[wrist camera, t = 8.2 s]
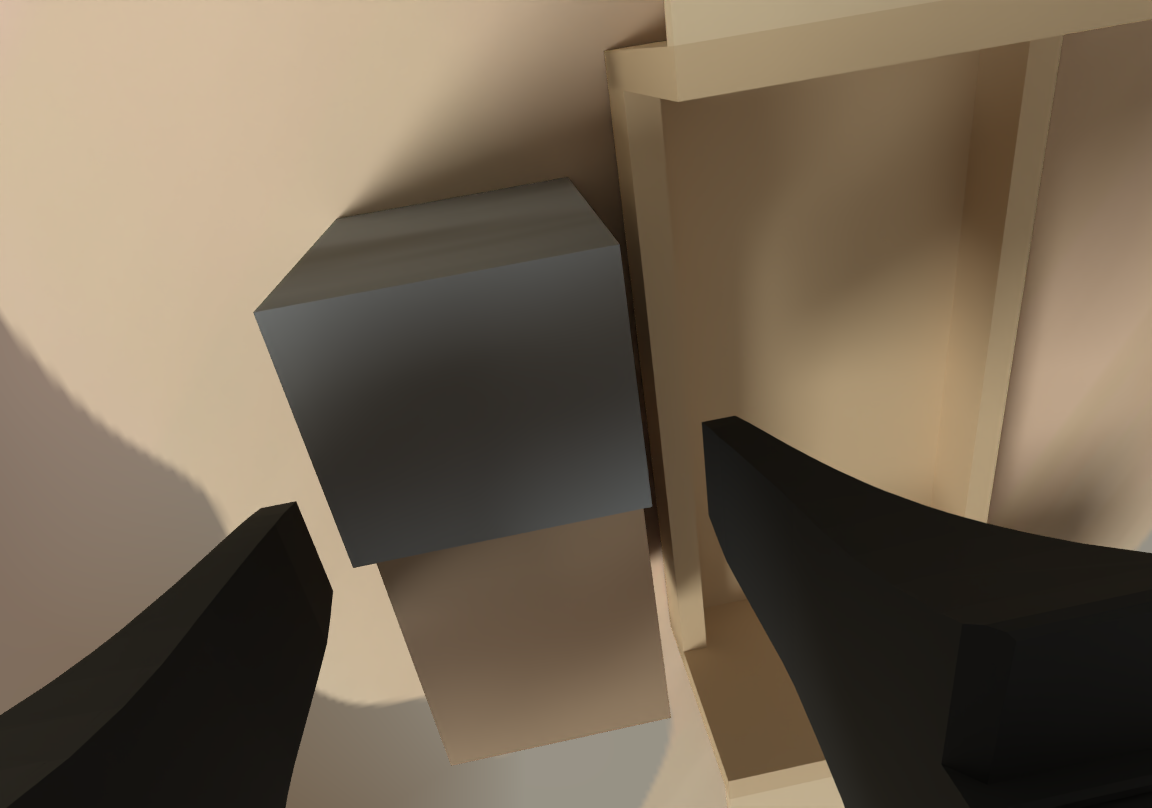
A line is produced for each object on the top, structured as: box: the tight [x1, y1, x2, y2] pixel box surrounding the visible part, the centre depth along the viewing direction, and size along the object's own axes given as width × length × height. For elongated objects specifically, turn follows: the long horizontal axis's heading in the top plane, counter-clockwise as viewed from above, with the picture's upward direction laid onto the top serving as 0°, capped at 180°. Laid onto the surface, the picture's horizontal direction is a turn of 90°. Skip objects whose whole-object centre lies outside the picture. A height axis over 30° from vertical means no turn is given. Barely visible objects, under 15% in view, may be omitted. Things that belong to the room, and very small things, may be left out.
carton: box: [604, 0, 1152, 808], centre depth 14 cm, size 20×8×5 cm, turn 8°
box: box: [253, 177, 671, 766], centre depth 13 cm, size 10×4×6 cm, turn 9°
